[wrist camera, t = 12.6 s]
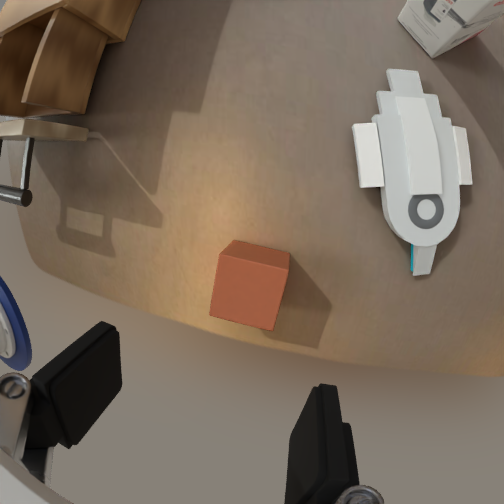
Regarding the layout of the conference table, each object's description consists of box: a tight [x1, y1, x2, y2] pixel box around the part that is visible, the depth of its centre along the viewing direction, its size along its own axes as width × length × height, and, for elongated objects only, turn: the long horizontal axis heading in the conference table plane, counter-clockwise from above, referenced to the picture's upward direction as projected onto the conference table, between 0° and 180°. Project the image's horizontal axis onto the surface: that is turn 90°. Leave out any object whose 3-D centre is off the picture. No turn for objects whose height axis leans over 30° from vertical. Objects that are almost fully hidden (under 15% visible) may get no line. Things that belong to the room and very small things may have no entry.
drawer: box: [0, 7, 108, 207], centre depth 16 cm, size 19×11×8 cm, turn 169°
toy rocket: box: [352, 69, 472, 276], centre depth 18 cm, size 16×10×2 cm, turn 7°
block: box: [209, 240, 290, 331], centre depth 20 cm, size 4×4×4 cm
